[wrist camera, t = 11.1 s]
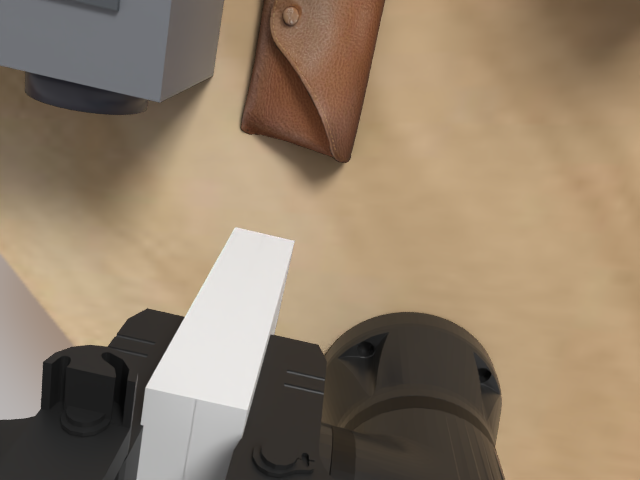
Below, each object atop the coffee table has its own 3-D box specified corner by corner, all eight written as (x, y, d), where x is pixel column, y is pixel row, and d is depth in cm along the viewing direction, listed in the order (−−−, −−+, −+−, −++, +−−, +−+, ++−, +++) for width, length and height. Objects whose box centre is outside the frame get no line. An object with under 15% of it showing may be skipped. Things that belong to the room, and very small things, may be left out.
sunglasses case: (271, -146, 37) (320, -159, 32) (367, -118, 40) (426, -124, 35) (237, 138, 44) (272, 167, 38) (321, 142, 47) (364, 169, 42)
